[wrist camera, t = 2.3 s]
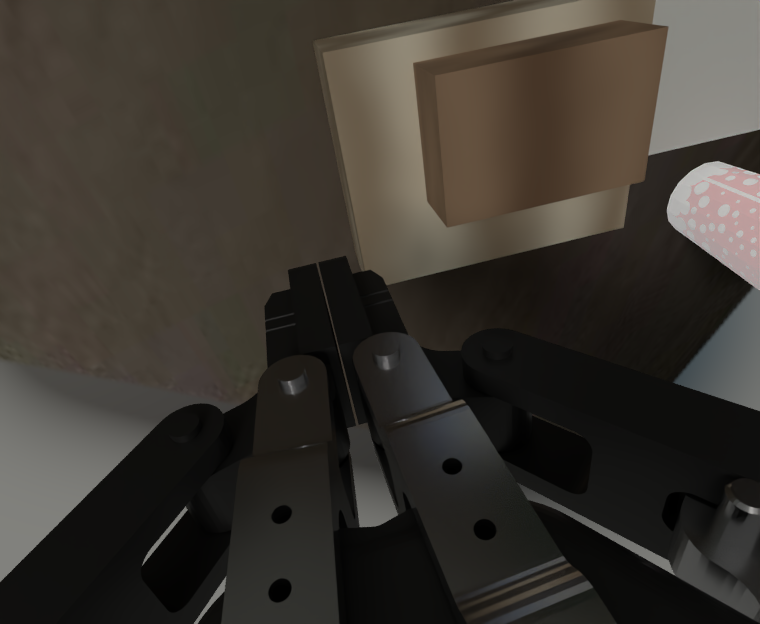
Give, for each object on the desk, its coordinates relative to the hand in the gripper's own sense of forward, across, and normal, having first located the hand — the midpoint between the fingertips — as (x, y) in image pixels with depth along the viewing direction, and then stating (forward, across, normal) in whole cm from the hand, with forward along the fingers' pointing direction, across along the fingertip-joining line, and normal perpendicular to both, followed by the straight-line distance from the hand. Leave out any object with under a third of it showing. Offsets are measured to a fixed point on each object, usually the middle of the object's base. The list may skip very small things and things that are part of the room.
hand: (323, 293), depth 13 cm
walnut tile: (+10, -10, 0) cm, 15 cm away
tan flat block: (+14, -9, +2) cm, 17 cm away
